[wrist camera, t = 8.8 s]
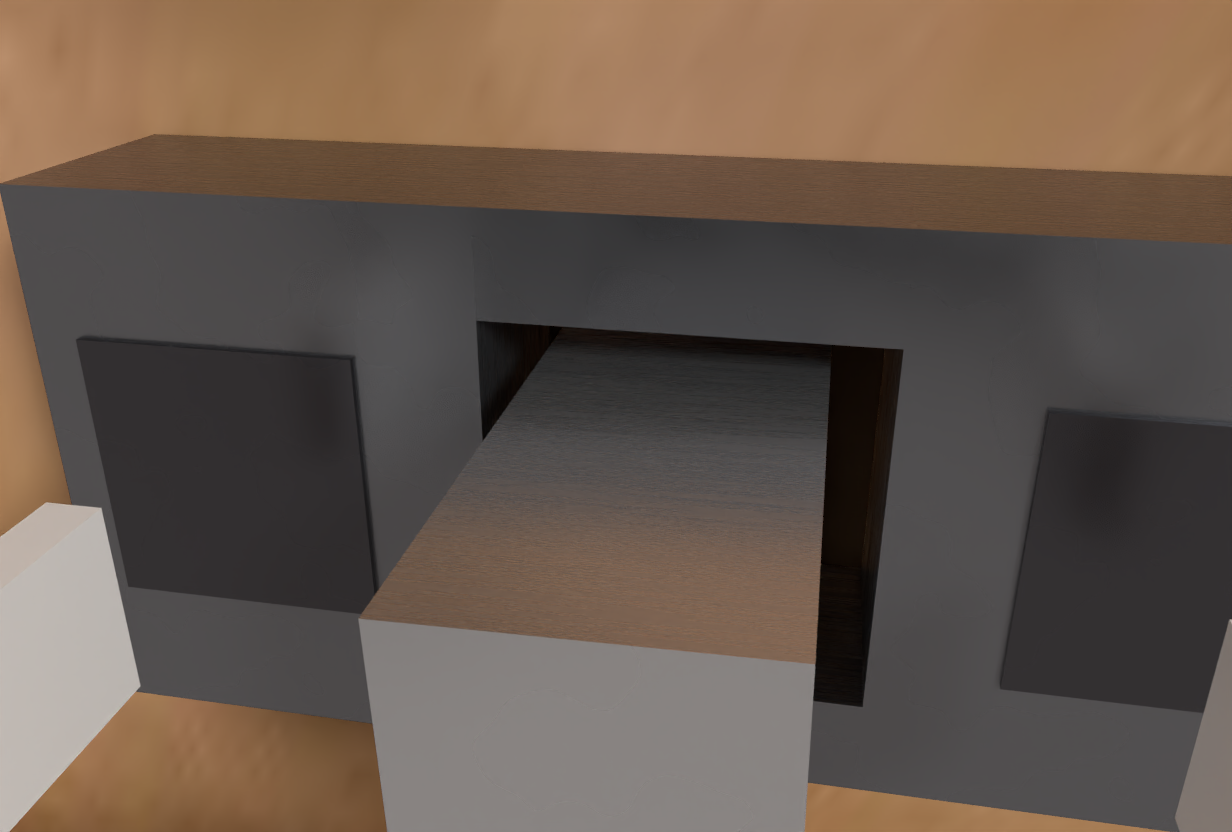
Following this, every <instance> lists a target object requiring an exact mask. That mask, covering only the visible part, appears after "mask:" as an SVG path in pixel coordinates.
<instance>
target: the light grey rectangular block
mask: <svg viewBox="0 0 1232 832" xmlns="http://www.w3.org/2000/svg"><path fill="white" fill-rule="evenodd" d="M831 351H832V345H829V344H814V343H799V342H784V341H770V340H755V339H740V338H725V337H710V336H695V335H681V334H666V333H651V332H636V331H621V330H606V329H592V328H577V327H563V328H562V329H561V331H560V332H559V334H558V335H557V337H556V338H555V339H554V341H553V342H552V344H551V345H550V346H549V348H548V349H547V351H546V352H545V354H544V355H543V356H542V358H541V359H540V361H539V362H538V364H537V365H536V366H535V368H534V369H533V371H532V372H531V374H530V375H529V376H528V378H527V379H526V381H525V382H524V383H523V385H522V386H521V388H520V389H519V391H518V392H517V393H516V395H515V396H514V398H513V399H512V401H511V402H510V403H509V405H508V406H507V408H506V409H505V411H504V412H503V413H502V415H501V416H500V418H499V419H498V420H497V422H496V423H495V425H494V426H493V428H492V429H491V430H490V432H489V433H488V435H487V436H486V438H485V439H484V440H483V442H482V443H481V445H480V446H479V448H478V449H477V450H476V452H475V453H474V455H473V456H472V458H471V459H470V460H469V462H468V463H467V465H466V466H465V467H464V469H463V470H462V472H461V473H460V475H459V476H458V477H457V479H456V480H455V482H454V483H453V485H452V486H451V487H450V489H449V490H448V492H447V493H446V495H445V496H444V497H443V499H442V500H441V502H440V503H439V504H438V506H437V507H436V509H435V510H434V512H433V513H432V514H431V516H430V517H429V519H428V520H427V522H426V523H425V524H424V526H423V527H422V529H421V530H420V532H419V533H418V534H417V536H416V537H415V539H414V540H413V541H412V543H411V544H410V546H409V547H408V549H407V550H406V551H405V553H404V554H403V556H402V557H401V559H400V560H399V561H398V563H397V564H396V566H395V567H394V569H393V570H392V571H391V573H390V574H389V576H388V577H387V578H386V580H385V581H384V583H383V584H382V586H381V587H380V588H379V590H378V591H377V593H376V594H375V596H374V597H373V598H372V600H371V601H370V603H369V604H368V606H367V607H366V608H365V610H364V611H363V613H362V614H361V616H360V617H359V618H358V620H359V627H360V634H361V642H362V649H363V657H364V664H365V671H366V679H367V686H368V693H369V701H370V708H371V715H372V723H373V730H374V737H375V745H376V752H377V759H378V767H379V774H380V781H381V789H382V796H383V803H384V811H385V818H386V825H387V832H804V831H805V816H806V800H807V785H808V770H809V755H810V739H811V724H812V709H813V694H814V678H815V663H816V643H817V624H818V604H819V585H820V565H821V546H822V526H823V507H824V487H825V468H826V448H827V429H828V410H829V390H830V371H831Z"/></svg>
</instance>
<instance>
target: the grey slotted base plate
mask: <svg viewBox="0 0 1232 832" xmlns="http://www.w3.org/2000/svg"><path fill="white" fill-rule="evenodd" d="M0 193H1V197H2V202H3V206H4V211H5V215H6V219H7V224H8V228H9V232H10V237H11V241H12V245H13V250H14V254H15V258H16V263H17V267H18V272H19V276H20V280H21V285H22V289H23V293H24V298H25V302H26V306H27V311H28V315H29V319H30V324H31V328H32V333H33V337H34V341H35V346H36V350H37V354H38V359H39V363H40V367H41V372H42V376H43V380H44V385H45V389H46V393H47V398H48V402H49V407H50V411H51V415H52V420H53V424H54V428H55V433H56V437H57V441H58V446H59V450H60V454H61V459H62V463H63V468H64V472H65V476H66V481H67V485H68V489H69V494H70V498H71V502H72V505H77V506H87V507H97V508H101V509H102V514H103V518H104V523H105V527H106V532H107V536H108V541H109V545H110V550H111V554H112V559H113V563H114V568H115V572H116V577H117V582H118V586H119V591H120V595H121V600H122V604H123V609H124V613H125V618H126V622H127V627H128V631H129V636H130V641H131V645H132V650H133V654H134V659H135V663H136V668H137V672H138V677H139V681H140V687H139V688H138V689H137V691H136V692H143V693H151V694H158V695H165V696H173V697H180V698H188V699H195V700H202V701H210V702H217V703H225V704H232V705H239V706H247V707H254V708H261V709H269V710H276V711H284V712H291V713H298V714H306V715H313V716H321V717H328V718H335V719H343V720H350V721H357V722H365V723H372V715H371V708H370V701H369V693H368V686H367V679H366V671H365V664H364V657H363V649H362V642H361V634H360V627H359V620H358V618H359V617H360V616H361V614H362V613H363V611H364V610H365V608H366V607H367V606H368V604H369V603H370V601H371V600H372V598H373V597H374V596H375V594H376V593H377V591H378V590H379V588H380V587H381V586H382V584H383V583H384V581H385V580H386V578H387V577H388V576H389V574H390V573H391V571H392V570H393V569H394V567H395V566H396V564H397V563H398V561H399V560H400V559H401V557H402V556H403V554H404V553H405V551H406V550H407V549H408V547H409V546H410V544H411V543H412V541H413V540H414V539H415V537H416V536H417V534H418V533H419V532H420V530H421V529H422V527H423V526H424V524H425V523H426V522H427V520H428V519H429V517H430V516H431V514H432V513H433V512H434V510H435V509H436V507H437V506H438V504H439V503H440V502H441V500H442V499H443V497H444V496H445V495H446V493H447V492H448V490H449V489H450V487H451V486H452V485H453V483H454V482H455V480H456V479H457V477H458V476H459V475H460V473H461V472H462V470H463V469H464V467H465V466H466V465H467V463H468V462H469V460H470V459H471V458H472V456H473V455H474V453H475V452H476V450H477V449H478V448H479V446H480V445H481V443H482V442H483V440H484V439H485V438H486V436H487V435H488V433H489V432H490V430H491V429H492V428H493V426H494V425H495V423H496V422H497V420H498V419H499V418H500V416H501V415H502V413H503V412H504V411H505V409H506V408H507V406H508V405H509V403H510V402H511V401H512V399H513V398H514V396H515V395H516V393H517V392H518V391H519V389H520V388H521V386H522V385H523V383H524V382H525V381H526V379H527V378H528V376H529V375H530V374H531V372H532V371H533V369H534V368H535V366H536V365H537V364H538V362H539V361H540V359H541V358H542V356H543V355H544V354H545V352H546V351H547V349H548V348H549V346H550V343H549V326H562V327H577V328H592V329H606V330H621V331H636V332H651V333H666V334H681V335H695V336H710V337H725V338H740V339H755V340H770V341H784V342H799V343H814V344H829V345H844V346H858V347H873V348H885V350H884V359H883V369H882V378H881V387H880V397H879V406H878V415H877V424H876V434H875V443H874V452H873V462H872V471H871V480H870V490H869V499H868V508H867V518H866V527H865V536H864V546H863V555H862V564H861V568H856V567H846V566H836V565H826V564H821V565H820V585H819V604H818V624H817V643H816V663H815V678H814V694H813V709H812V724H811V739H810V755H809V770H808V783H815V784H823V785H830V786H837V787H845V788H852V789H860V790H867V791H874V792H882V793H889V794H896V795H904V796H911V797H919V798H926V799H933V800H941V801H948V802H956V803H963V804H970V805H978V806H985V807H992V808H1000V809H1007V810H1015V811H1022V812H1029V813H1037V814H1044V815H1052V816H1059V817H1066V818H1074V819H1081V820H1088V821H1096V822H1103V823H1111V824H1118V825H1125V826H1133V827H1140V828H1148V829H1155V830H1162V831H1170V832H1180V831H1179V828H1178V825H1177V822H1176V820H1175V815H1176V812H1177V808H1178V804H1179V801H1180V797H1181V794H1182V790H1183V786H1184V783H1185V779H1186V775H1187V772H1188V768H1189V765H1190V761H1191V757H1192V754H1193V750H1194V746H1195V743H1196V739H1197V736H1198V732H1199V728H1200V725H1201V721H1202V717H1203V714H1204V710H1205V707H1206V703H1207V699H1208V696H1209V692H1210V688H1211V685H1212V681H1213V678H1214V674H1215V670H1216V667H1217V663H1218V659H1219V656H1220V652H1221V649H1222V645H1223V641H1224V638H1225V634H1226V630H1227V627H1228V623H1229V620H1232V177H1230V176H1204V175H1179V174H1153V173H1128V172H1102V171H1077V170H1051V169H1025V168H1000V167H974V166H949V165H923V164H898V163H872V162H846V161H821V160H795V159H770V158H744V157H719V156H693V155H667V154H642V153H616V152H591V151H565V150H540V149H514V148H488V147H463V146H437V145H412V144H386V143H361V142H335V141H309V140H284V139H258V138H233V137H207V136H182V135H156V134H154V135H151V136H148V137H145V138H141V139H138V140H135V141H132V142H129V143H126V144H123V145H120V146H116V147H113V148H110V149H107V150H104V151H101V152H98V153H94V154H91V155H88V156H85V157H82V158H79V159H76V160H72V161H69V162H66V163H63V164H60V165H57V166H54V167H50V168H47V169H44V170H41V171H38V172H35V173H32V174H28V175H25V176H22V177H19V178H16V179H13V180H10V181H6V182H3V183H0ZM372 724H373V723H372Z"/></svg>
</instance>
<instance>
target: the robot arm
mask: <svg viewBox="0 0 1232 832" xmlns="http://www.w3.org/2000/svg"><path fill="white" fill-rule="evenodd" d="M139 687H140V681H139V677H138V672H137V668H136V663H135V659H134V654H133V650H132V645H131V641H130V636H129V631H128V627H127V622H126V618H125V613H124V609H123V604H122V600H121V595H120V591H119V586H118V582H117V577H116V572H115V568H114V563H113V559H112V554H111V550H110V545H109V541H108V536H107V532H106V527H105V523H104V518H103V514H102V509H101V508H97V507H87V506H77V505H67V504H57V503H47V502H46V503H45V504H43V505H42V506H41V507H39V508H38V509H37V510H35V511H34V512H33V513H31V514H30V515H29V516H27V517H26V518H25V519H23V520H22V521H21V522H19V523H18V524H17V525H15V526H14V527H13V528H11V529H10V530H9V531H7V532H6V533H5V534H3V535H2V536H1V537H0V832H10V830H11V829H12V828H13V827H14V826H15V825H16V824H17V823H18V822H19V820H20V819H21V818H22V817H23V816H24V815H25V814H26V813H27V812H28V810H29V809H30V808H31V807H32V806H33V805H34V804H35V803H36V802H37V800H38V799H39V798H40V797H41V796H42V795H43V794H44V793H45V792H46V790H47V789H48V788H49V787H50V786H51V785H52V784H53V783H54V782H55V780H56V779H57V778H58V777H59V776H60V775H61V774H62V773H63V772H64V770H65V769H66V768H67V767H68V766H69V765H70V764H71V763H72V762H73V761H74V759H75V758H76V757H77V756H78V755H79V754H80V753H81V752H82V751H83V749H84V748H85V747H86V746H87V745H88V744H89V743H90V742H91V741H92V739H93V738H94V737H95V736H96V735H97V734H98V733H99V732H100V731H101V729H102V728H103V727H104V726H105V725H106V724H107V723H108V722H109V721H110V719H111V718H112V717H113V716H114V715H115V714H116V713H117V712H118V711H119V709H120V708H121V707H122V706H123V705H124V704H125V703H126V702H127V701H128V699H129V698H130V697H131V696H132V695H133V694H134V693H135V692H136V691H137V689H138V688H139ZM1175 820H1176V822H1177V825H1178V828H1179V831H1180V832H1232V620H1229V623H1228V627H1227V630H1226V634H1225V638H1224V641H1223V645H1222V649H1221V652H1220V656H1219V659H1218V663H1217V667H1216V670H1215V674H1214V678H1213V681H1212V685H1211V688H1210V692H1209V696H1208V699H1207V703H1206V707H1205V710H1204V714H1203V717H1202V721H1201V725H1200V728H1199V732H1198V736H1197V739H1196V743H1195V746H1194V750H1193V754H1192V757H1191V761H1190V765H1189V768H1188V772H1187V775H1186V779H1185V783H1184V786H1183V790H1182V794H1181V797H1180V801H1179V804H1178V808H1177V812H1176V815H1175Z"/></svg>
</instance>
